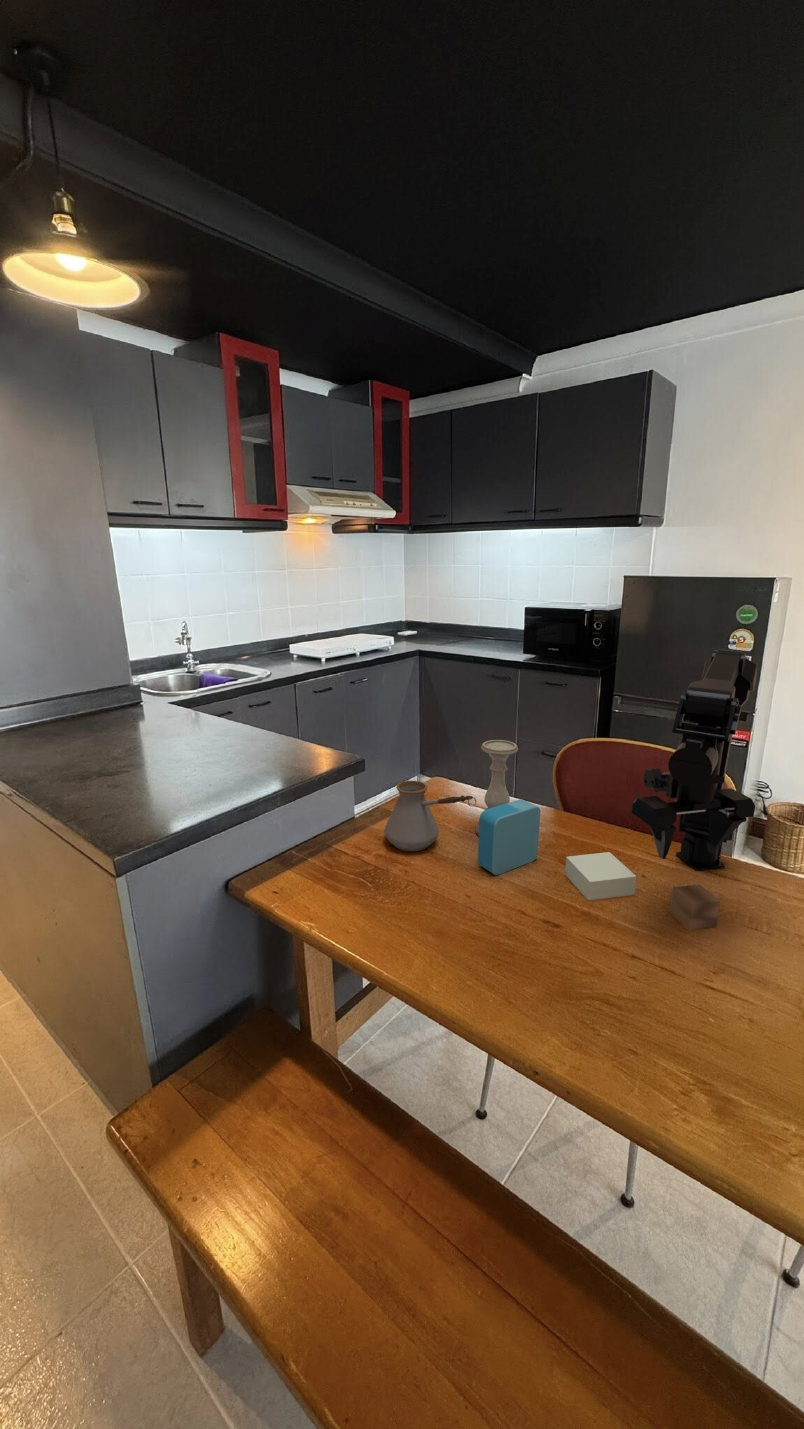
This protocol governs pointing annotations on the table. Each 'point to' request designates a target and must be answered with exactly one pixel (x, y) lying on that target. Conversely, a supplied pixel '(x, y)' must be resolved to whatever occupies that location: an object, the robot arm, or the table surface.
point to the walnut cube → (694, 907)
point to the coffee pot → (415, 817)
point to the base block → (600, 876)
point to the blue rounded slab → (508, 836)
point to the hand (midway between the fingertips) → (686, 854)
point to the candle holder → (497, 772)
